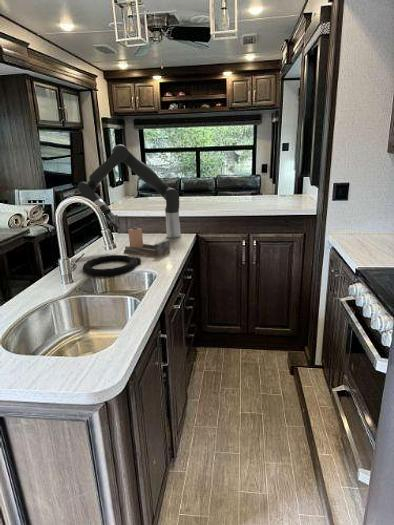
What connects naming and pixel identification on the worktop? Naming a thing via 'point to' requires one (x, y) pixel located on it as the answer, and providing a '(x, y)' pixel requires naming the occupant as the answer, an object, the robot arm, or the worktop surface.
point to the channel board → (150, 249)
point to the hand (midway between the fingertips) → (118, 228)
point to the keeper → (135, 237)
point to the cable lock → (114, 271)
